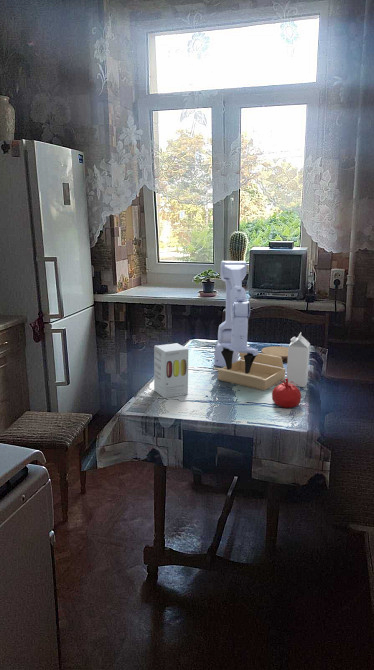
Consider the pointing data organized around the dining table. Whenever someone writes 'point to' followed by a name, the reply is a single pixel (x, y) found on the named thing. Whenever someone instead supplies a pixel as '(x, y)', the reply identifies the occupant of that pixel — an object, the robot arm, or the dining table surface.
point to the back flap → (266, 359)
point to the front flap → (238, 373)
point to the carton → (260, 370)
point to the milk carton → (298, 361)
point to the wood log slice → (277, 352)
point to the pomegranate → (286, 395)
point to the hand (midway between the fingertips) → (238, 371)
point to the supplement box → (171, 370)
